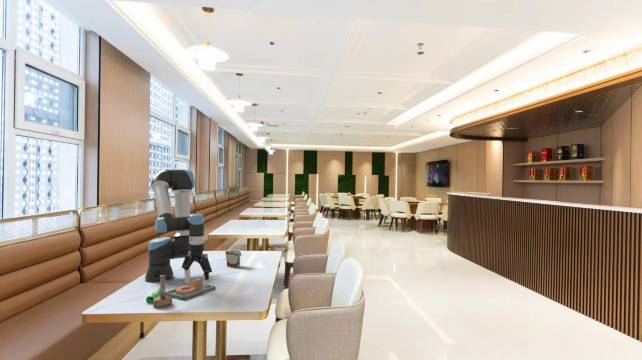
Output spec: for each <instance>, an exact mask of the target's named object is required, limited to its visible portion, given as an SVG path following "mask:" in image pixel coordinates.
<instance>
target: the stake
mask: <svg viewBox="0 0 642 360" xmlns="http://www.w3.org/2000/svg"><path fill="white" fill-rule="evenodd" d="M165 277H166V275H161V276H160V281H159V283H160V284H159V285H160V286H159V288H160V296H159V297H156V298H154V300H153V303H152V305H153V306H152V307H153V308H155V309H164V308H168V307H171V306H172V305H173V297H171V296H166V295H165V292H166V280H165Z"/></svg>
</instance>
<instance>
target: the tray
mask: <svg viewBox="0 0 642 360" xmlns="http://www.w3.org/2000/svg"><path fill="white" fill-rule="evenodd" d="M184 286H190V283H188V284H184ZM179 287H180V286H179ZM179 287H176V288H172V289H169V290H167V291H166V290H165V295H166V296H171V297H172V299H177V300H181V301H186V300H189V299H192V298H195V297H198V296H201V295H203V294H206V293H209V292H211V291H214V290H216V285H211V284H208V286H205V287H203V282H202V288H201V289H199V290H196V291H195V293H192V294H189V295H183V296H181V295H177V294H176V289H177V288H179Z"/></svg>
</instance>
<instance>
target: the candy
mask: <svg viewBox="0 0 642 360" xmlns="http://www.w3.org/2000/svg"><path fill="white" fill-rule="evenodd" d="M156 297H160V287H158V289H156V290H155V291H153V292H152V293H151V294H150V295H149V296H147V297H146V298H145V301H146V303H147V304H150V303H152V304H153V300H154V298H156Z"/></svg>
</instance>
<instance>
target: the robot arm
mask: <svg viewBox="0 0 642 360" xmlns="http://www.w3.org/2000/svg"><path fill="white" fill-rule="evenodd" d="M195 183H196V181H195V176H194V173H193V171H192V170H190V169H167V168H166V169H163V170H159V171H158V172H157V173H156V174H155V175H154V176H153V178H152V179H151V182H150V187H151V188H150V189H151V191H152V192H153V193H154V199H155V206H156V212H157V218H155V221H154V226H155V232H156V233H169V232H175V234H174V235H173V236H172V237H173V238H172V239H171V238H170V237H169V236H166V237H165V236H163V237H159V238H153V239H151V240H150V241H148V242H149V243H148V249H147V250H148V266H147V270H146V273H145V276H144V280H145V281H146V282H151V283H153V282H154V283H156V282H159V283H160V276H161V275H166V277H165V281H168V280H171V279H173V278H174V271H173V268H172V265H171V260H175V259H177V260H178V259H183V262H182V265H181V269H183V270H184V279H185V280H184V281H185V283H186V284H187V283H190V280H191V267H192V265H193V264H194V262H195V263H198V264H199V266H200V268H201V270H202V271H203V273H202V283H203V287H205V286H208V285H209V279H210V273H212V272H213V269H212V266H211V265H210V264H211V263H210V261H209V258H208V257H209V256H208V253H203V252H204V251H205V244H204V243H205V217H204V214H201V213H194V214H193V213H191V199H190V195H191V192H193V189H194V188H195V186H196V185H195ZM169 189H171V192H172V193H173V194H174V208H175V209H174V211H175V216H174V213H173V208H172V207H173V206H172V203H171V202H172V201H171V198H170V193H169Z"/></svg>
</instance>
